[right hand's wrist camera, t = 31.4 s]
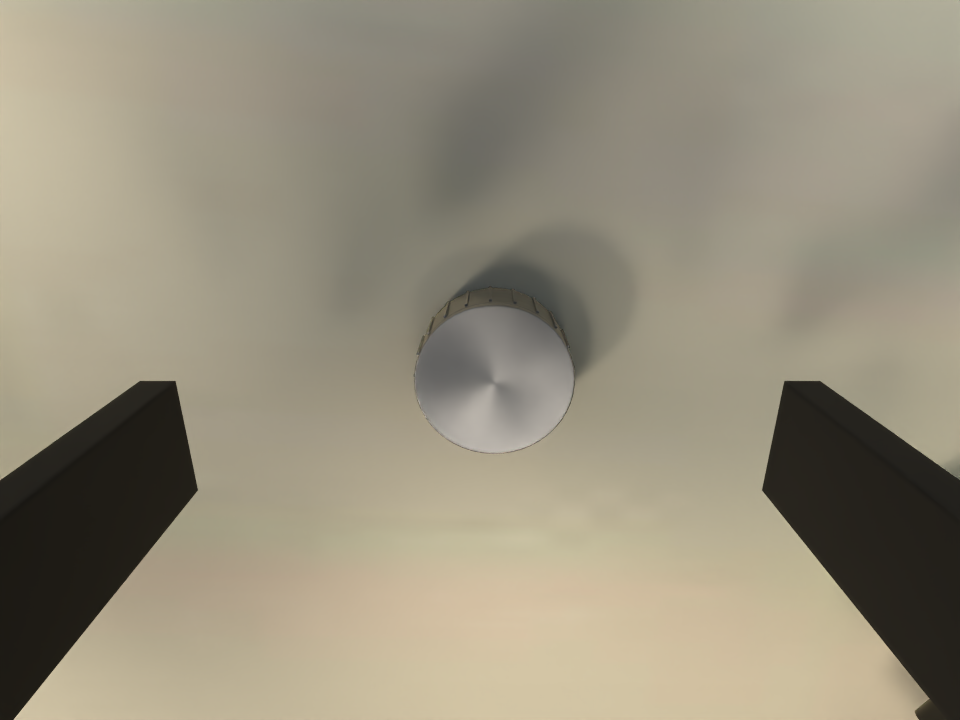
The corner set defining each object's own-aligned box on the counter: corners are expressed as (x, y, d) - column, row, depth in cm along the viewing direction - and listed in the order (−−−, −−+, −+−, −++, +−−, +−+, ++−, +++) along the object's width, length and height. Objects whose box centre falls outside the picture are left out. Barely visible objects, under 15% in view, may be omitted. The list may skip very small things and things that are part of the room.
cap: (591, 384, 19) (603, 413, 17) (465, 445, 19) (463, 480, 17) (525, 258, 17) (530, 272, 15) (393, 330, 18) (381, 352, 16)
